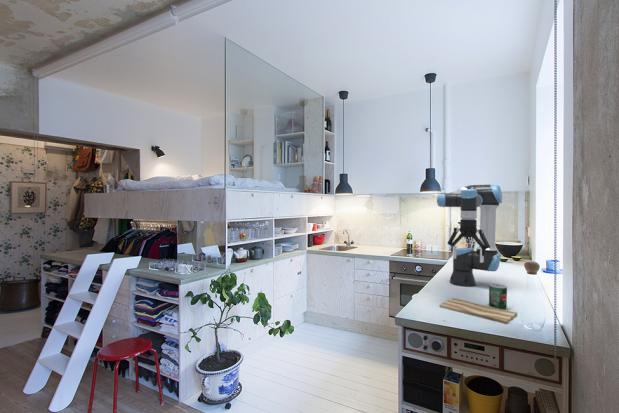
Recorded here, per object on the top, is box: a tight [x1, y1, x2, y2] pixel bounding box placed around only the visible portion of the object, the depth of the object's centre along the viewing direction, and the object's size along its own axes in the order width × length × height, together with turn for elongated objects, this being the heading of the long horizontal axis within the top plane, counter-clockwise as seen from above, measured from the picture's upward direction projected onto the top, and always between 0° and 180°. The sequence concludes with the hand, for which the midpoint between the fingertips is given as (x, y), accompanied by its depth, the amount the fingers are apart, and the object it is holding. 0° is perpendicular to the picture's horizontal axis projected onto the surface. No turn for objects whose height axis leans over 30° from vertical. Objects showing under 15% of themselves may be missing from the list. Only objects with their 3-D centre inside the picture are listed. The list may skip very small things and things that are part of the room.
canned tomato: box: [488, 283, 508, 310], centre depth 161 cm, size 8×8×11 cm
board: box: [439, 297, 518, 325], centre depth 156 cm, size 16×30×1 cm, turn 43°
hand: (467, 260), depth 163 cm, fingers open, 13 cm apart
